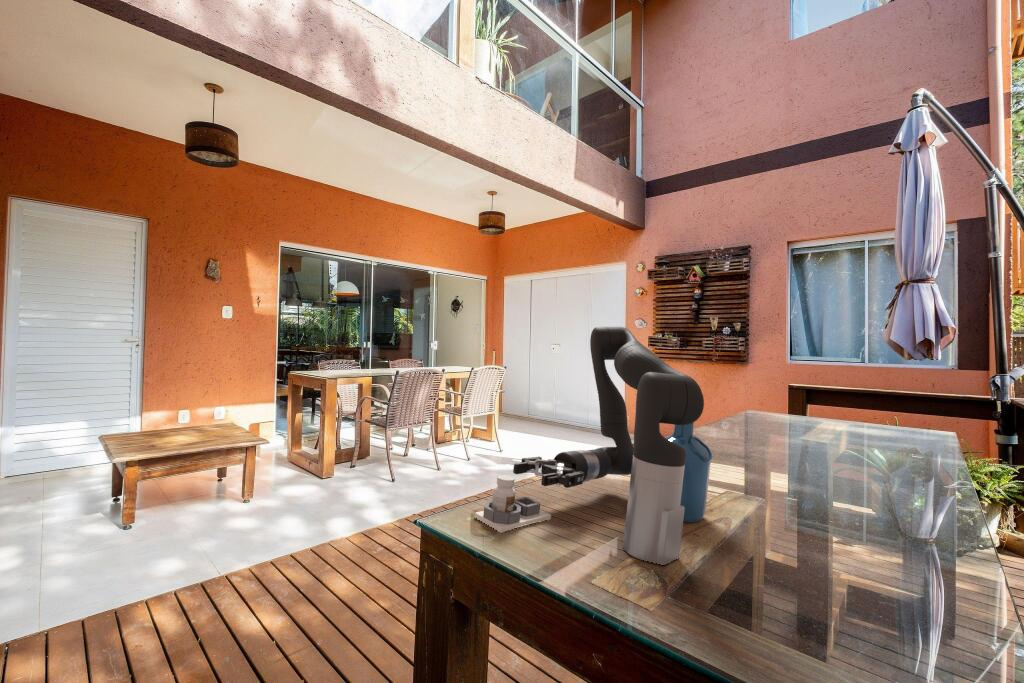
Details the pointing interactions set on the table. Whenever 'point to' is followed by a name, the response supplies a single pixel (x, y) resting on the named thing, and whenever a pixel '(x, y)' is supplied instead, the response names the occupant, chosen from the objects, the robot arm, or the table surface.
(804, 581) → the table surface
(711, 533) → the table surface
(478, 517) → the socket board
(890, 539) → the table surface
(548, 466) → the robot arm
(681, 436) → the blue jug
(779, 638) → the table surface
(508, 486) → the pill bottle
